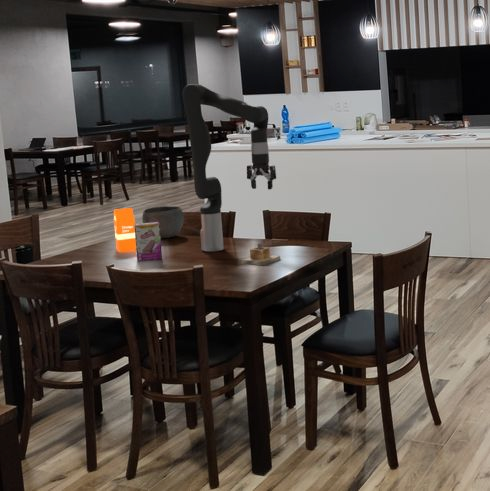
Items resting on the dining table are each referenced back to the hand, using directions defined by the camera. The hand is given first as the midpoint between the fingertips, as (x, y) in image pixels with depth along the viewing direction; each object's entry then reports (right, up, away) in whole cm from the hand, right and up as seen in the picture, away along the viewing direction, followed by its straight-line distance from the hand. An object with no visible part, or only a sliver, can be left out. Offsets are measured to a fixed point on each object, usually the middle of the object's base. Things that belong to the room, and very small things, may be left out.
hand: (262, 189), depth 381 cm
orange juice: (-64, -27, +28) cm, 75 cm away
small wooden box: (-1, -30, -18) cm, 35 cm away
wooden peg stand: (-1, -32, -18) cm, 36 cm away
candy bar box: (-50, -32, +1) cm, 59 cm away
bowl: (-48, -21, +55) cm, 76 cm away
